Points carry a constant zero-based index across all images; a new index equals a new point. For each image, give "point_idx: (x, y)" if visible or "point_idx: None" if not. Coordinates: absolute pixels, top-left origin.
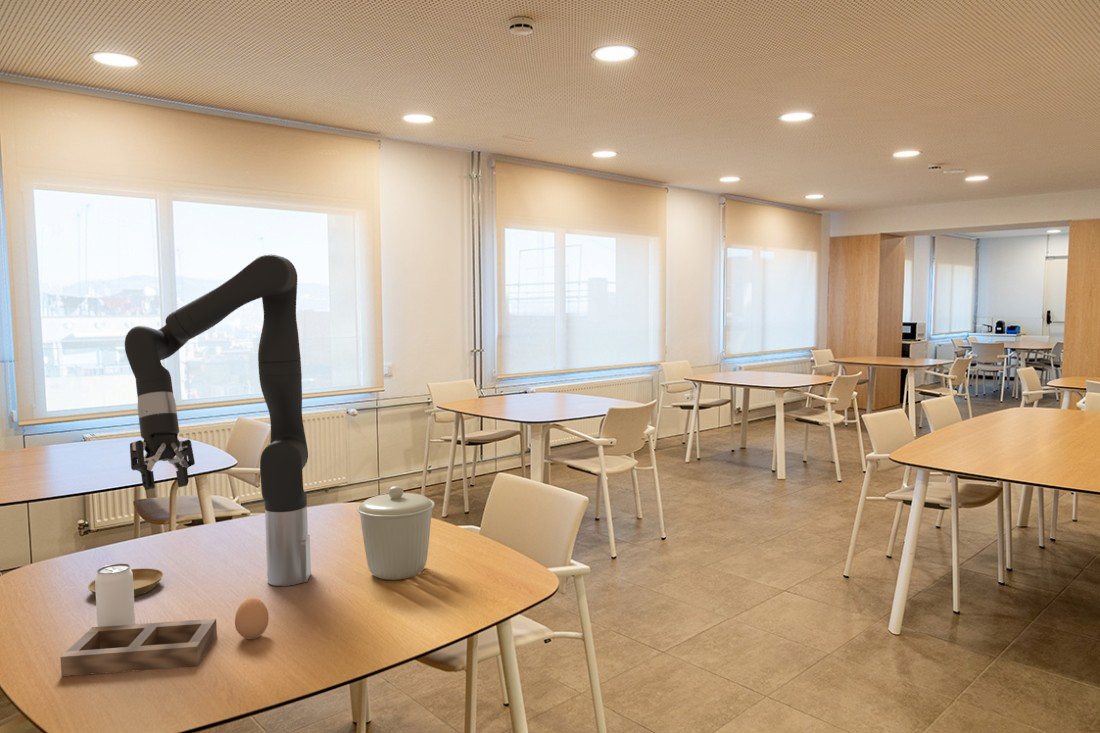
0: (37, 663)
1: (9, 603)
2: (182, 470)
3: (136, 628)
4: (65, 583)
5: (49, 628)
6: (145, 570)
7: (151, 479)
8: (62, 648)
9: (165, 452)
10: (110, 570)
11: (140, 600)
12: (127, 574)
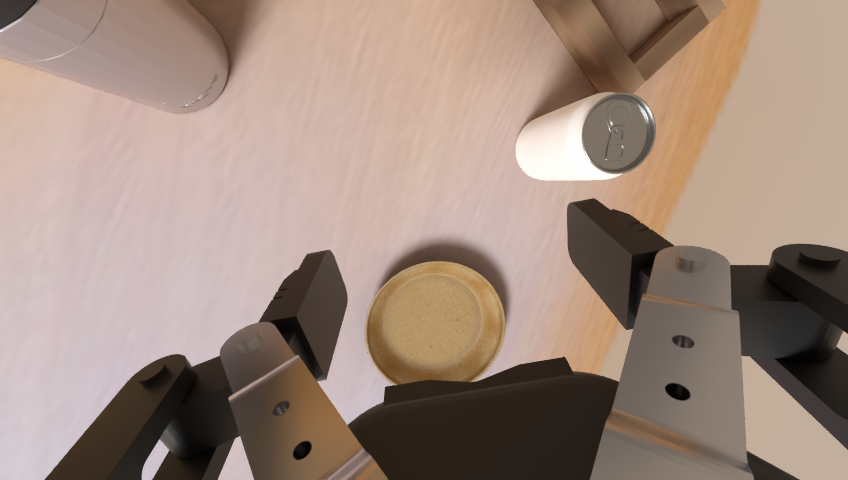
0: (681, 115)
1: None
2: (303, 319)
3: (594, 5)
4: None
5: None
6: (378, 363)
7: (618, 218)
8: None
9: (509, 452)
10: (624, 136)
11: (449, 242)
12: (597, 96)
